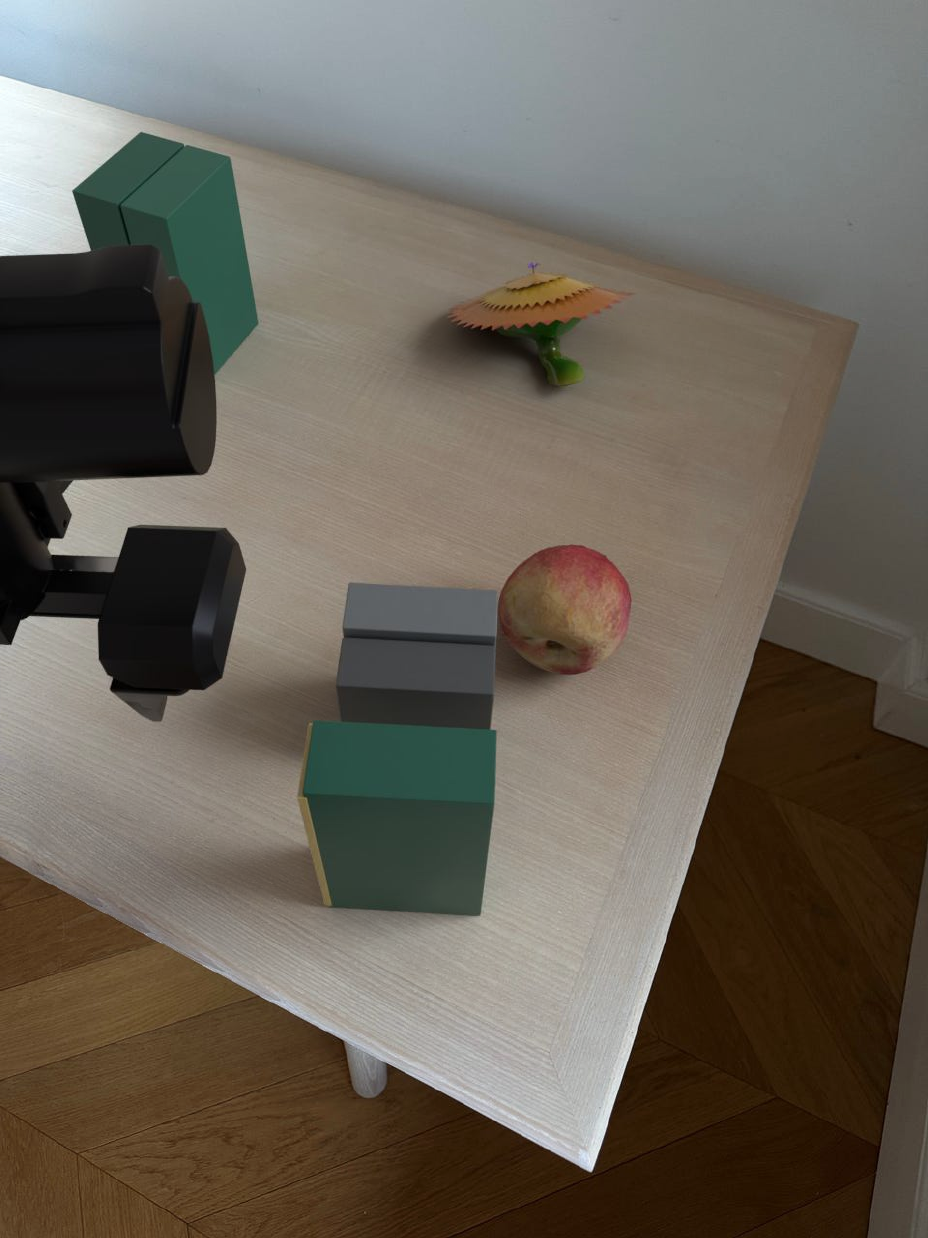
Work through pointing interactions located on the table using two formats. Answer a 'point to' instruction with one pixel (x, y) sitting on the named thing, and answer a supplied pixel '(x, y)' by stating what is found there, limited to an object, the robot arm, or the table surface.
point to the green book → (399, 814)
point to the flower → (540, 315)
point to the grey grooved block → (418, 656)
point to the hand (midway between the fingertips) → (57, 707)
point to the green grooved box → (178, 226)
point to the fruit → (565, 609)
